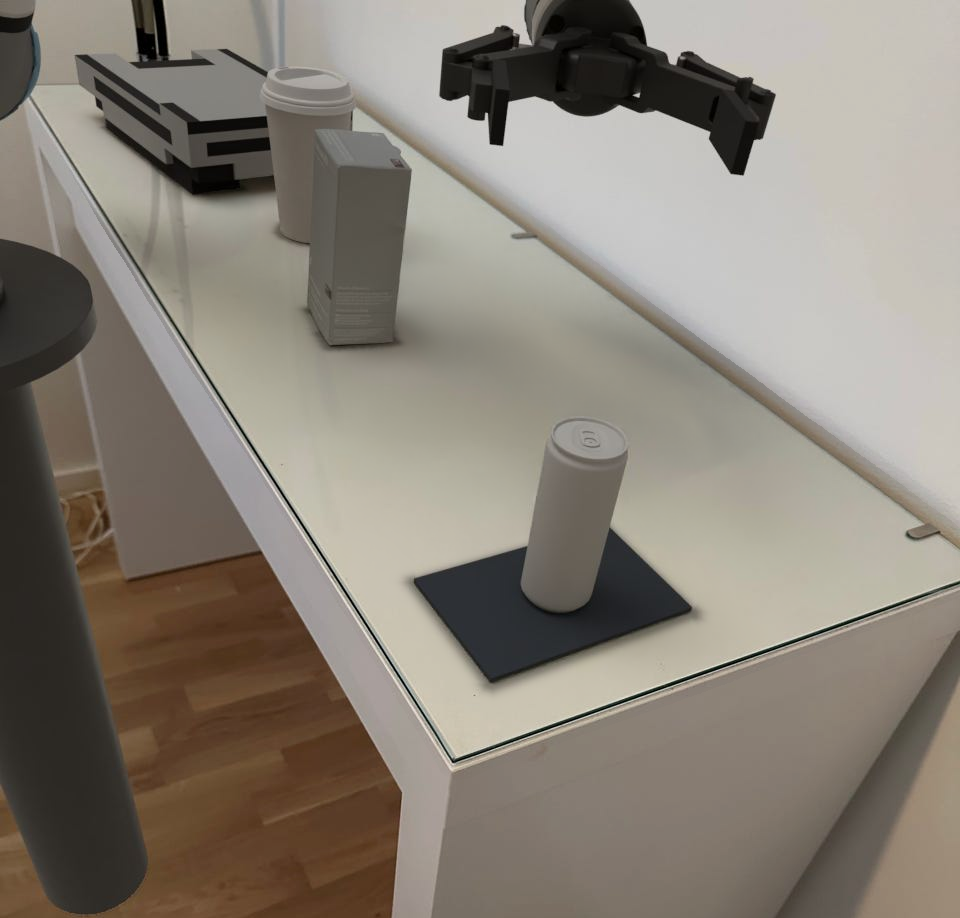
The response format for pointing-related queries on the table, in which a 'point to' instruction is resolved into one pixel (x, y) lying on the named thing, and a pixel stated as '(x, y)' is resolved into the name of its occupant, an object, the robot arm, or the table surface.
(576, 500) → the beverage can
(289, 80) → the coffee cup
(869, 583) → the table surface
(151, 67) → the game console
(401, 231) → the cosmetic box
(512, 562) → the mat
